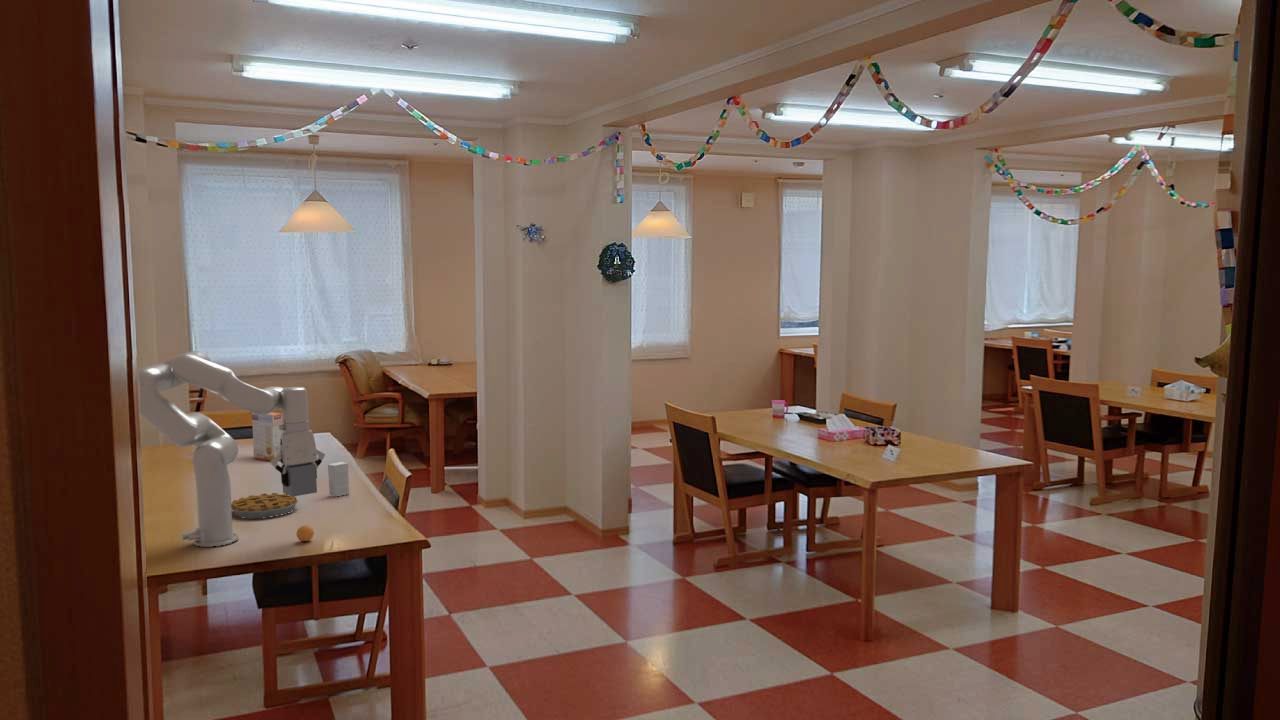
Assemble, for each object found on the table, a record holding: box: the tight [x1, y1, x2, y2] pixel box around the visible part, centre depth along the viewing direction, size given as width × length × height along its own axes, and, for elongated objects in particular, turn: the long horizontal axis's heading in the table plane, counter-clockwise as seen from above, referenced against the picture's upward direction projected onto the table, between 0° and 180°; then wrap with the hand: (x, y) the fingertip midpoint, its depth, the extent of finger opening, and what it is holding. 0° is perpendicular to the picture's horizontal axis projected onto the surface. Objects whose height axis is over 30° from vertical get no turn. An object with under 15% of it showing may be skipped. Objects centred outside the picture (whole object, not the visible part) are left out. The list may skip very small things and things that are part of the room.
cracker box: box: [251, 411, 283, 462], centre depth 417 cm, size 14×6×21 cm, turn 58°
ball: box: [296, 524, 315, 542], centre depth 292 cm, size 5×5×5 cm
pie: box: [231, 492, 299, 519], centre depth 328 cm, size 22×22×5 cm
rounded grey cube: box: [280, 463, 318, 497], centre depth 292 cm, size 8×8×9 cm
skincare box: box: [327, 461, 350, 498], centre depth 351 cm, size 6×4×12 cm
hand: (299, 483), depth 292 cm, fingers closed on rounded grey cube, 7 cm apart
